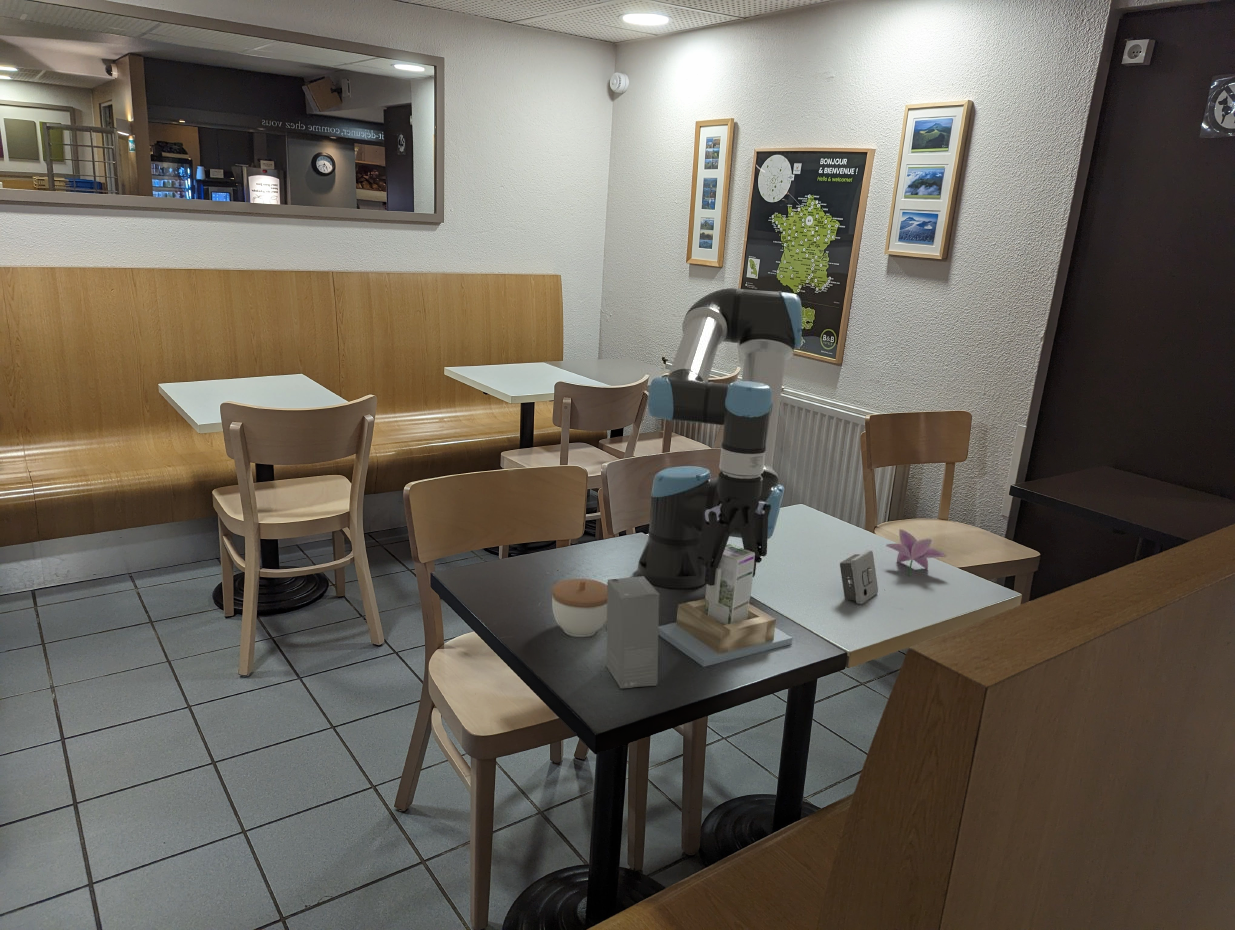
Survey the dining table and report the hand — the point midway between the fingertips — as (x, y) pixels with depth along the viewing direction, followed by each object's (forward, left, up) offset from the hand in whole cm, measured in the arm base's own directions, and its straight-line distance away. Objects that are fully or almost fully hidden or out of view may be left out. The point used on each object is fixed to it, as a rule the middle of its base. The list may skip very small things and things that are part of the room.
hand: (728, 597), depth 153 cm
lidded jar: (-23, -12, -8) cm, 27 cm away
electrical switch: (+16, +35, -8) cm, 39 cm away
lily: (+23, +58, -8) cm, 63 cm away
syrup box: (0, 0, -6) cm, 6 cm away
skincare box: (-8, -22, -8) cm, 25 cm away
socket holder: (0, 0, -8) cm, 8 cm away
